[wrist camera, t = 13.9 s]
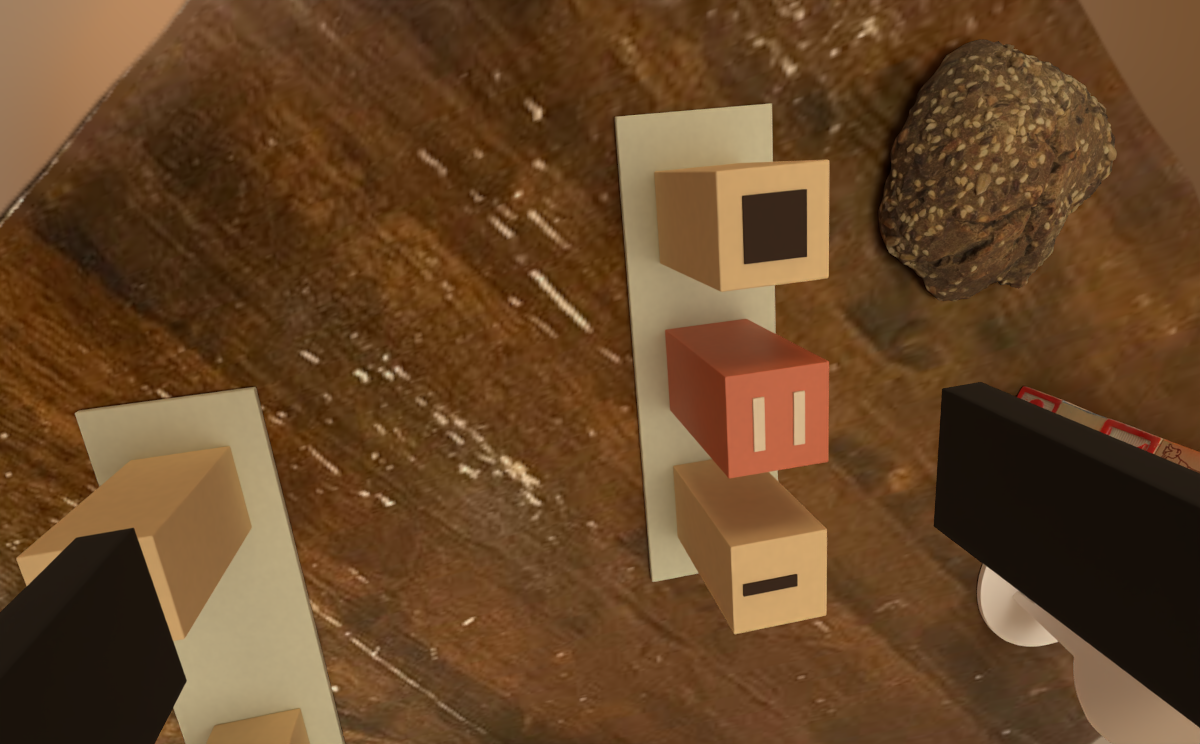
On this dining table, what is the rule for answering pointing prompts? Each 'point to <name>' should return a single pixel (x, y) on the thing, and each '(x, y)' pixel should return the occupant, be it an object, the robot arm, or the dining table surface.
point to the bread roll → (991, 169)
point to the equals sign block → (749, 396)
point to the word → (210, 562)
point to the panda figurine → (1085, 670)
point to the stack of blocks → (1115, 429)
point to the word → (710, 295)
